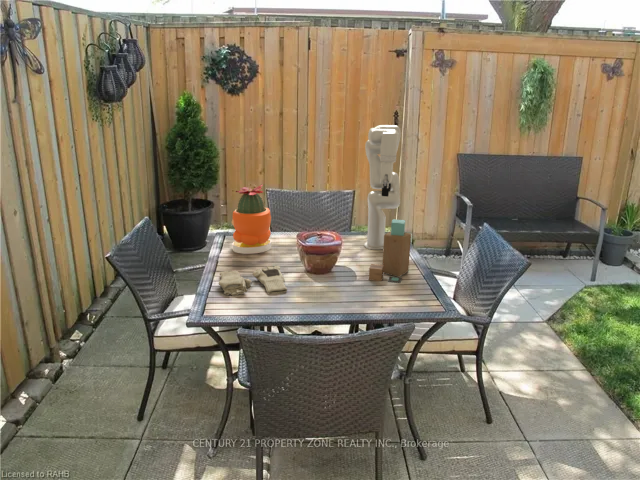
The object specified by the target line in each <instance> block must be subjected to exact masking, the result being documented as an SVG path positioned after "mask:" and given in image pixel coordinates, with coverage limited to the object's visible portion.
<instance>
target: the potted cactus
mask: <svg viewBox="0 0 640 480" xmlns="http://www.w3.org/2000/svg"><path fill="white" fill-rule="evenodd" d="M263 186H264V184H260V185H258V186H256V187H255V188H254V187H253V186H251V187H250V186H243V187H239V189H240V190H235V193H239V194H240V197H239V199H238V200H237V205H236V208H235V210H234V211H232V220H231V225H232V226H233V227H234V229H235V230H234V232H233V234H232V237H233V240H234V241H233V242H232V244H231V245H232V246H231V247H232V251H233V252H234V253H238V254H244V255H247V254H258V253H260V254H261V253H264V252H267V251H269V250H271V249H272V240H271V239H270V237H271V236H272V233H271V229H270V228H271V224H272V223H271V221H272V215H271V214H272V213H271V210H270V208H269V207H265V201H264V199H263V197H262V194H263V193H264V191H263V190H262V187H263Z"/></svg>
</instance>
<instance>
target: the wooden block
mask: <svg viewBox="0 0 640 480" xmlns="http://www.w3.org/2000/svg"><path fill="white" fill-rule="evenodd" d="M411 240H412V235H411V233H410V232H406V231H405V233H404V236H399V235H391V231H389V232H385V235H384V246H383V249H382V250H383V251H382V264H381V265H384V270H383V274H387V275H391V276H392V277H400V278H401V277H402V276H403V275H405V274H407V273H408V272H409V268H410V267H409V266H410V255H411V254H410V252H411V242H412V241H411Z"/></svg>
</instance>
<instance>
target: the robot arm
mask: <svg viewBox="0 0 640 480" xmlns="http://www.w3.org/2000/svg"><path fill="white" fill-rule="evenodd" d="M401 133H402V132H401V128H400V127H399V125H397V124H396V125H395V124H392V125H391V124H390V125H389V124H380V125H376V126H374V127H371V128H370V129H369V130H368V135H367V139H368V140H367V141H365V144H364V146H365V147H364V150H365V155H366V159H367V161H368V164H369V185H370V187H371V189H373V190H371V191H369V192H368V194H367V206H368V207H367V211H368V213H367V215H368V216H367V220H368V221H367V238H366V239H367V240H366V241H365V242H364V244H363V247H364V248H366V249H368V250H374V251H376V250H377V251H379V250H383V246H384V235H385V234H386V219H387V218H386V214H385V212H384V210H383V209H397V208H399V206H400V203H401V192H400V191H401V190H400V189H401V187H400V186H401V185H400V177H399V173H397V172H395V171H394V163H396V162H397V152H398V149H399V147H400V146H399V145H400V142H401V135H402V134H401ZM374 189H375V190H374Z"/></svg>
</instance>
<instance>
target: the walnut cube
mask: <svg viewBox="0 0 640 480" xmlns="http://www.w3.org/2000/svg"><path fill="white" fill-rule="evenodd" d="M383 270H384V265H382V264H379V263H378V264H376V263H370V266H369V268H368V280H369V281H377V282H382V280H383V278H384V273H383Z"/></svg>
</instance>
